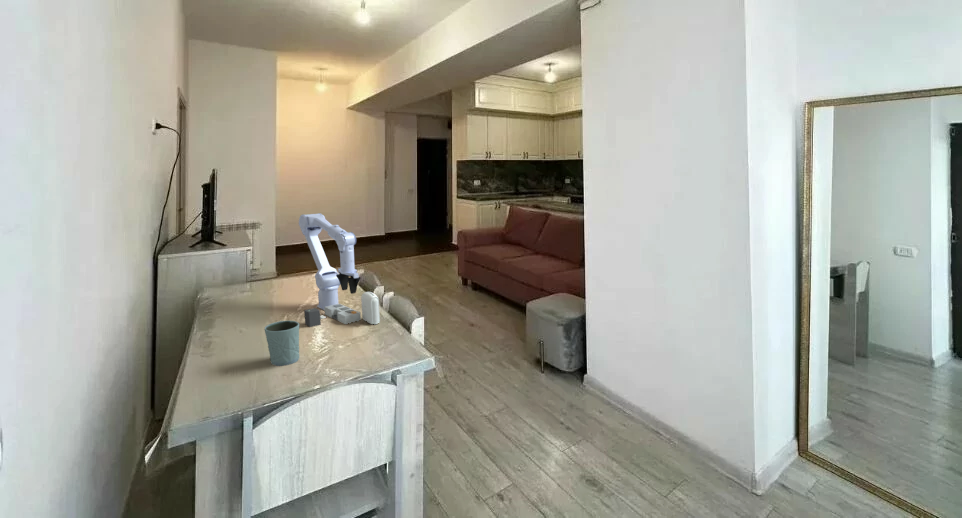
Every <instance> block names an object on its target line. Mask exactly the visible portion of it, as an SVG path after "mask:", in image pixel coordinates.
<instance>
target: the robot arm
mask: <svg viewBox="0 0 962 518" xmlns="http://www.w3.org/2000/svg"><path fill="white" fill-rule="evenodd" d="M298 226H299V228H300V231H301V233H302V235H303V236H304V237H305V240H306V243H307V246H308V248H309V250H310V253H311V255H312V258H313V260H314V263H315V265H316V269H317V272H316V273H315V274H314V278H315V285H316V287H317V288H318V289H319V290H318V292H317V296H318V297H317V298H318V304H317V305H316V307H317V308H319V309H321V310H323V311H325V308H324V307H326V306H331V305H335V304H339V291H338V289H339V288H341V290H342V291H348V287H349V292H350V294H351V295H353V294H356V293H357V289H358V285H359V282H360V280H361V277H360V276H359V272H358V269H356V268H355V249H354V248H355V245H356V244H357V236H356V235H355V233H354V232H353V231H346V229H343V228H342V227H340V225H339V224H332V223H331V222H329V220H327V219H326V217H325V215H324V214H322V213H321V212H320V213H310V214H305V213H304V214H301V215H300V216H299V218H298ZM322 230H323V231H325V232H327V235H328V237H330V238H331V239H333V240H334V241H335V243H336V244H337V248H338V250H339V257H340V258H339V260H340V268H339V267H338V268H337V269H336V268H334V267H332V266H331V265H330V263H329V261H328V258H327V256H326V253H325V251H324V248H323V246H322V244H321V240H320V239H319V234H320V233H321V232H322Z"/></svg>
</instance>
